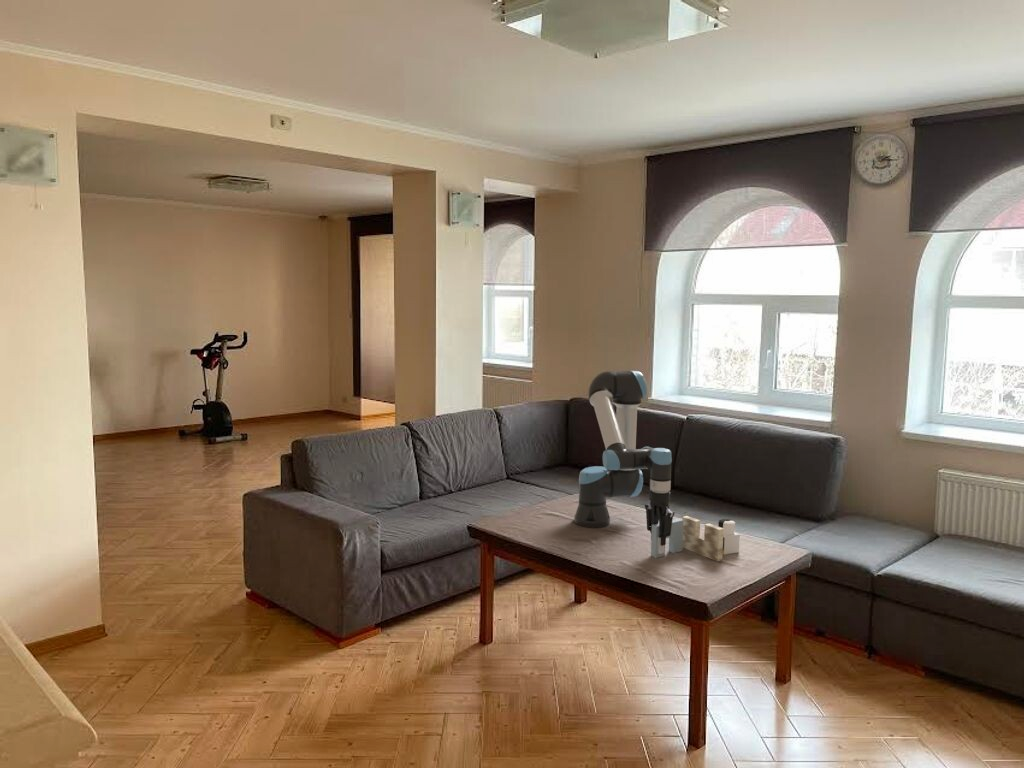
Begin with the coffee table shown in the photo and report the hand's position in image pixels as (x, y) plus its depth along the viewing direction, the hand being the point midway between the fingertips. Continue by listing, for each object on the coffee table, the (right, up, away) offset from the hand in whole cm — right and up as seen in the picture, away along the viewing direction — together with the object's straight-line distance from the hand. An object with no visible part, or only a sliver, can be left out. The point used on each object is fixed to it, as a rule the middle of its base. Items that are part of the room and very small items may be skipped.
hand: (658, 551), depth 276 cm
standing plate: (+17, -1, +3) cm, 17 cm away
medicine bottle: (+27, -1, +6) cm, 28 cm away
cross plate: (+4, -1, +3) cm, 5 cm away
